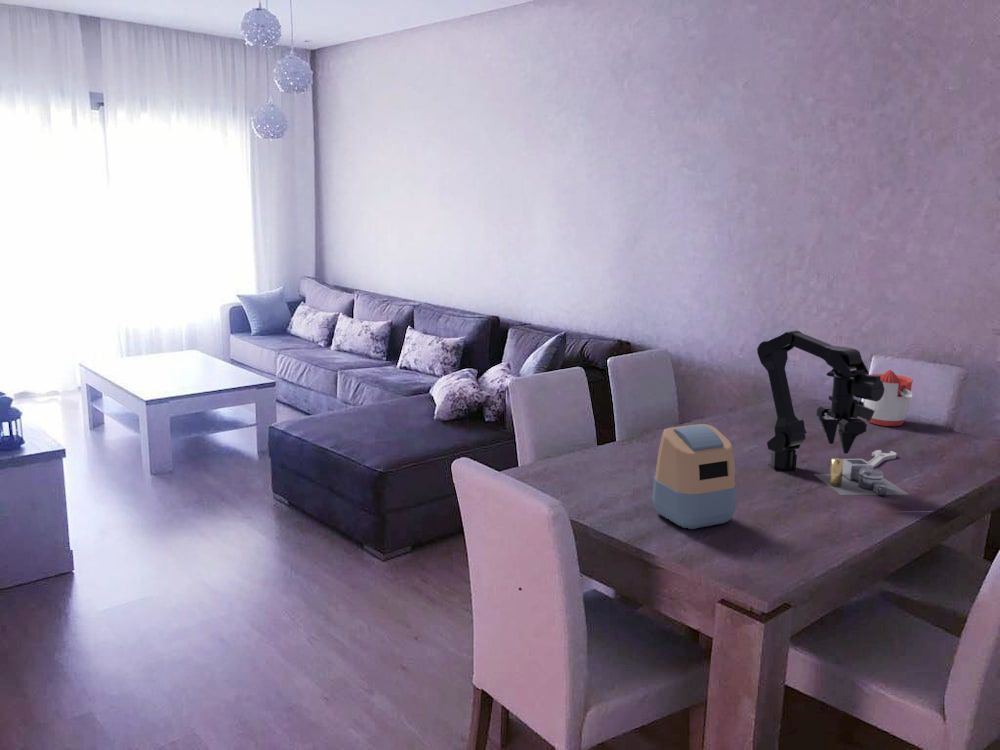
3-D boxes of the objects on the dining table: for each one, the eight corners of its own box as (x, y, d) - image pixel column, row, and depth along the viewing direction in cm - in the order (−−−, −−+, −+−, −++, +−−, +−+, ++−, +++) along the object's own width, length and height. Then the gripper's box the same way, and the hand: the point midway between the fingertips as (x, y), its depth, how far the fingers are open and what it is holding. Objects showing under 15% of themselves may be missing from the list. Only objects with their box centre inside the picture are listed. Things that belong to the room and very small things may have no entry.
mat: (840, 495, 220) (840, 494, 220) (813, 474, 237) (813, 474, 237) (909, 495, 220) (909, 494, 220) (876, 474, 238) (876, 473, 238)
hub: (864, 492, 223) (865, 474, 222) (853, 484, 229) (855, 467, 228) (885, 491, 223) (887, 474, 222) (875, 484, 229) (876, 467, 228)
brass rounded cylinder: (832, 487, 226) (834, 461, 224) (827, 483, 229) (829, 458, 227) (843, 487, 226) (845, 461, 224) (838, 483, 229) (840, 458, 228)
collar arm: (895, 495, 218) (896, 480, 217) (872, 495, 218) (874, 480, 217) (861, 472, 237) (862, 458, 236) (840, 472, 237) (841, 458, 236)
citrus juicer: (889, 431, 285) (895, 376, 281) (852, 419, 301) (857, 367, 297) (922, 427, 291) (928, 373, 287) (884, 416, 307) (889, 364, 303)
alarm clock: (685, 535, 193) (689, 442, 188) (645, 512, 208) (649, 425, 203) (740, 524, 199) (746, 434, 194) (698, 503, 214) (703, 418, 209)
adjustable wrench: (867, 475, 239) (868, 469, 238) (845, 470, 243) (846, 465, 243) (898, 457, 256) (899, 452, 255) (877, 453, 260) (878, 448, 260)
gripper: (889, 401, 213) (883, 458, 217) (855, 386, 232) (851, 439, 235) (847, 402, 213) (842, 458, 216) (817, 387, 231) (813, 439, 234)
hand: (838, 448), depth 225 cm, fingers open, 9 cm apart
